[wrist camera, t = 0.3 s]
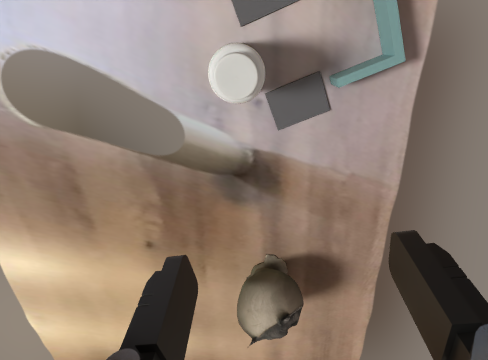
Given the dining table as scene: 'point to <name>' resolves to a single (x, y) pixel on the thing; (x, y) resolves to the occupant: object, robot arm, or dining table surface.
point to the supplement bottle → (236, 73)
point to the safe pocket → (389, 42)
